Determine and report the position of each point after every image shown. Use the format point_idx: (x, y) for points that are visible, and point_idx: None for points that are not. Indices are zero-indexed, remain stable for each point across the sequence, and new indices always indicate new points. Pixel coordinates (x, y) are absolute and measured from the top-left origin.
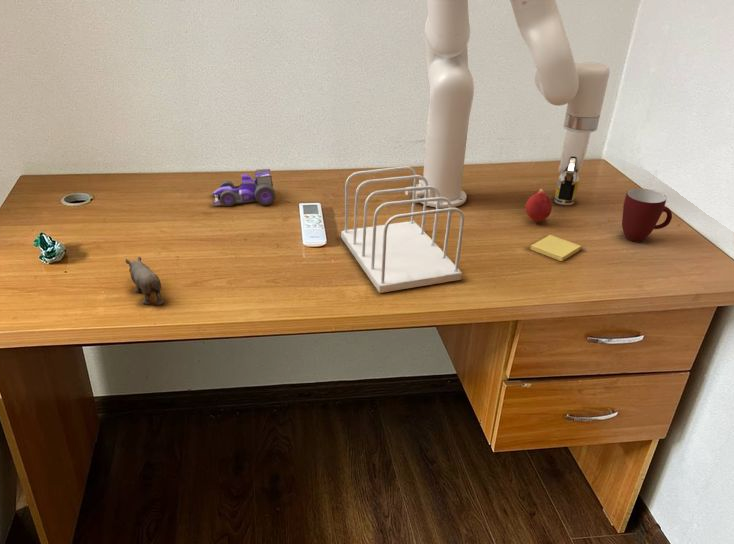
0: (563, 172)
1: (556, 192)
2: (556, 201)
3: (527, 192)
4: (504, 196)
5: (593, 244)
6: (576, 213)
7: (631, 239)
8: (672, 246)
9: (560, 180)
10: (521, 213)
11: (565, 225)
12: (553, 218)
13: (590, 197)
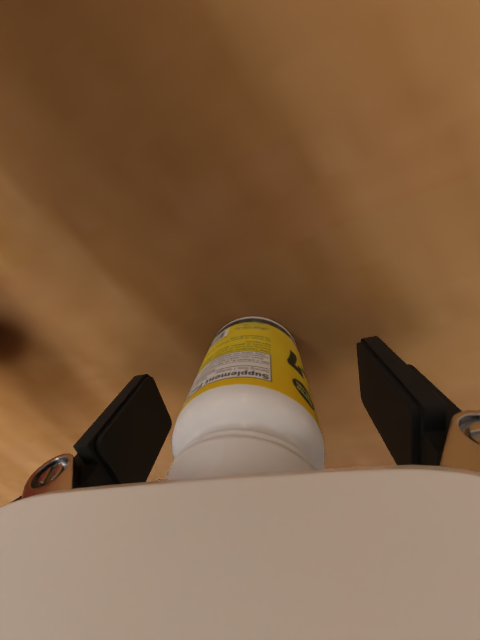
0: (170, 477)
1: (220, 342)
2: (216, 334)
3: (275, 137)
4: (114, 14)
5: (17, 484)
6: (173, 416)
7: None
8: None
9: (185, 406)
10: (3, 237)
11: (56, 409)
12: (72, 364)
13: (365, 425)
